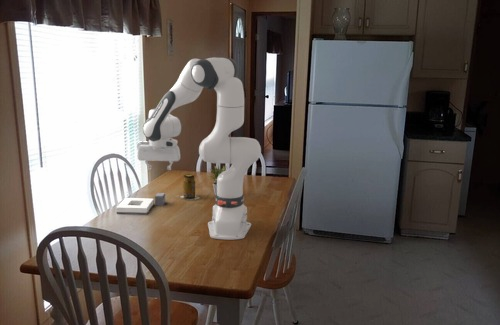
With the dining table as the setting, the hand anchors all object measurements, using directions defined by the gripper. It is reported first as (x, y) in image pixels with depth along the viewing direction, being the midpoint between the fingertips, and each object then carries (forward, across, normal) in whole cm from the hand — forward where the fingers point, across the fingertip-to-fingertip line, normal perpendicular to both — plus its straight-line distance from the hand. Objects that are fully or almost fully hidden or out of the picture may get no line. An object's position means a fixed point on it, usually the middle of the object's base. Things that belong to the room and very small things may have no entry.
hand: (159, 169), depth 215 cm
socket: (+17, -10, -8) cm, 22 cm away
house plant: (+18, +28, +16) cm, 37 cm away
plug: (+18, 0, 0) cm, 18 cm away
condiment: (+18, +13, +11) cm, 25 cm away
